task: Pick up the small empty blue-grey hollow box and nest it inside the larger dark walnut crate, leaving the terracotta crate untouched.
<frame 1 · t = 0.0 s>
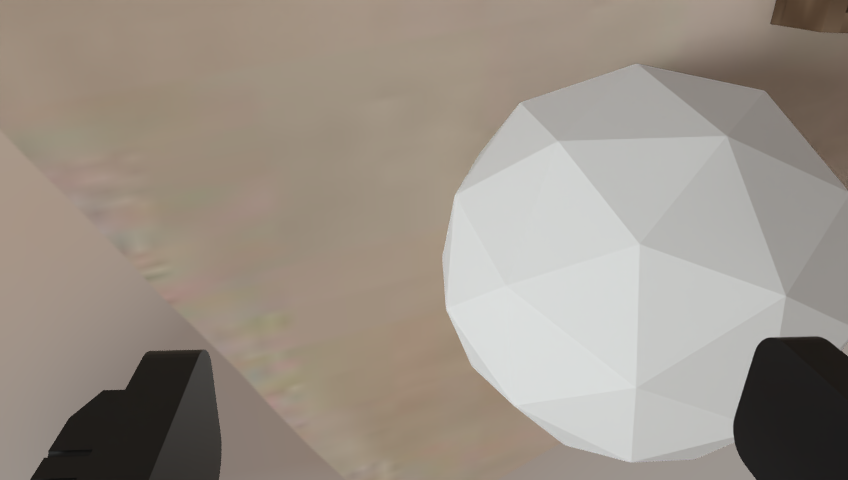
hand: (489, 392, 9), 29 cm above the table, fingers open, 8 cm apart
geometric orb: (572, 196, 40), on the table
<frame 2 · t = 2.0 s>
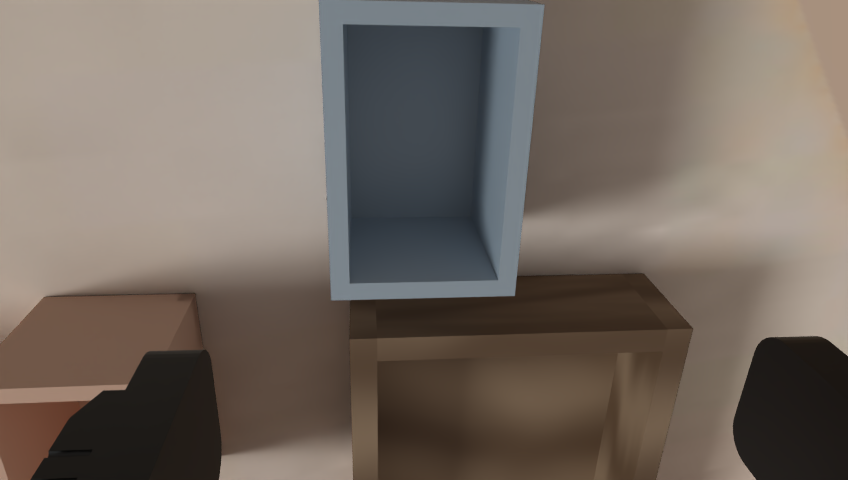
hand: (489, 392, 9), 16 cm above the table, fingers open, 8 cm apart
terracotta crate: (138, 383, 27), on the table
walnut crate: (487, 420, 30), on the table
blue-grey hollow box: (412, 117, 24), on the table
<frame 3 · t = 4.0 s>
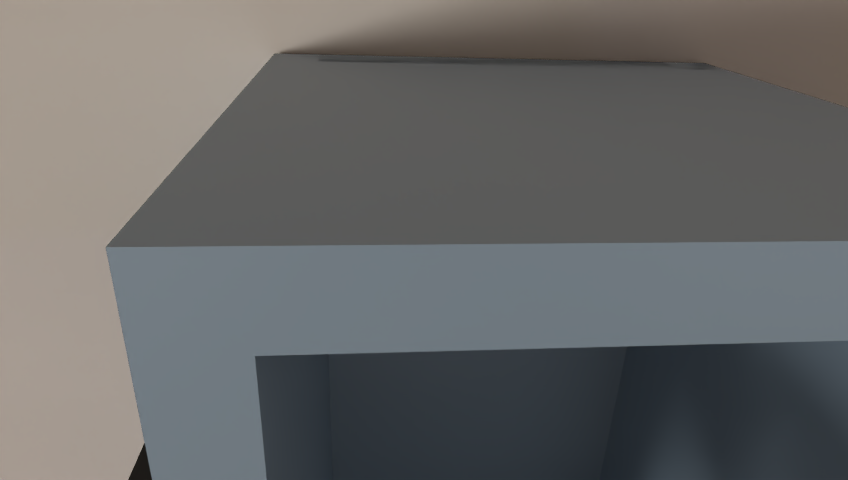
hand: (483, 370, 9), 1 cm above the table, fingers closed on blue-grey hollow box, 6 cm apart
blue-grey hollow box: (474, 334, 10), on the table, touching gripper
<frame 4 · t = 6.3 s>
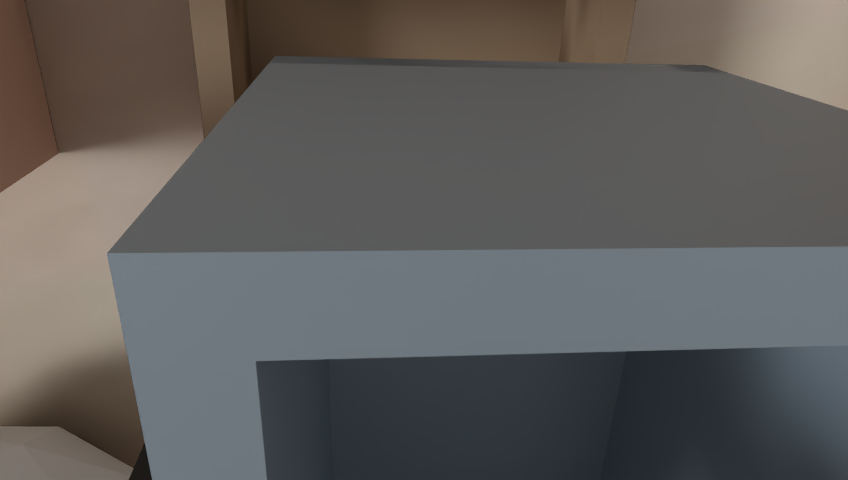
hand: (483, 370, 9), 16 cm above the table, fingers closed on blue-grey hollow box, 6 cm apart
walnut crate: (404, 118, 24), on the table
blue-grey hollow box: (474, 336, 10), point 15 cm above the table, touching gripper
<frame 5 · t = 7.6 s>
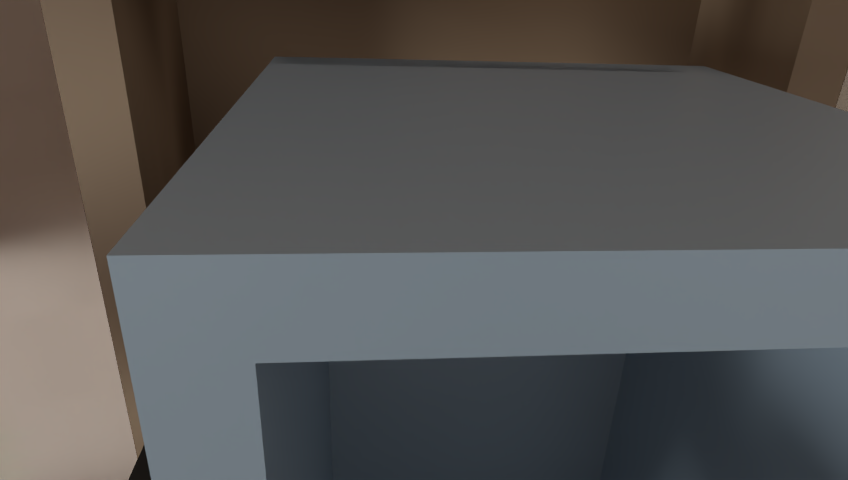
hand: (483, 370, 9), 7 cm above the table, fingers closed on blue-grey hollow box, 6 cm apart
walnut crate: (434, 199, 16), on the table
blue-grey hollow box: (474, 337, 10), point 6 cm above the table, touching gripper
when the fingers open (4 cm above the table, at t = 8.7 s): blue-grey hollow box drops 2 cm, resting on walnut crate.
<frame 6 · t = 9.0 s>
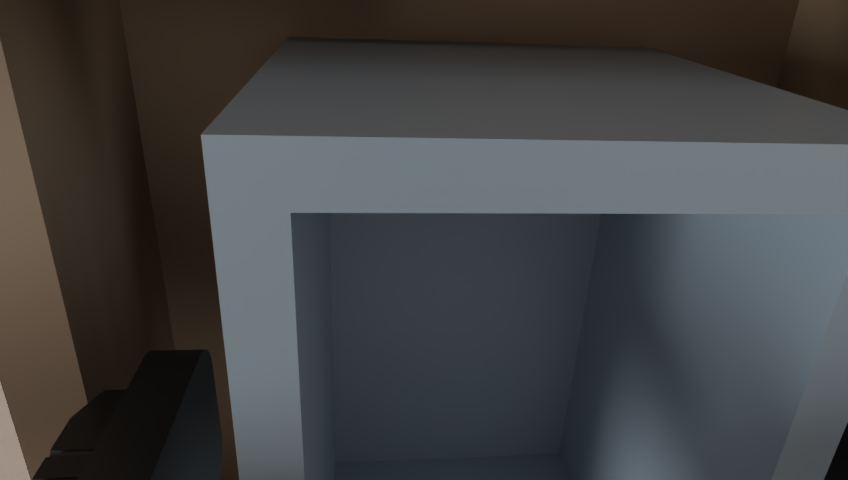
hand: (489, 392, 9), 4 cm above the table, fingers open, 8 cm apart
walnut crate: (450, 261, 13), on the table
blue-grey hollow box: (457, 283, 12), point 1 cm above the table, touching walnut crate
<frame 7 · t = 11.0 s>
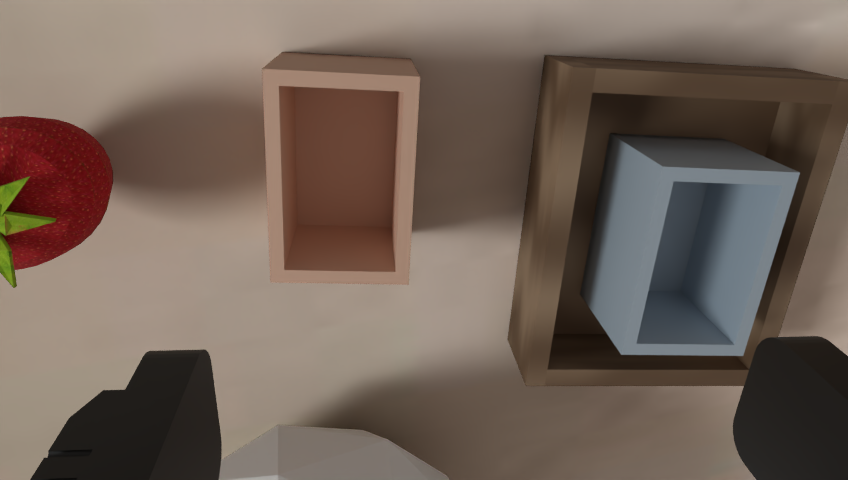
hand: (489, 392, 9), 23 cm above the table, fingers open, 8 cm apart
terracotta crate: (345, 148, 31), on the table
walnut crate: (641, 213, 33), on the table
blue-grey hollow box: (648, 219, 33), point 1 cm above the table, touching walnut crate
strawberry: (77, 157, 30), on the table
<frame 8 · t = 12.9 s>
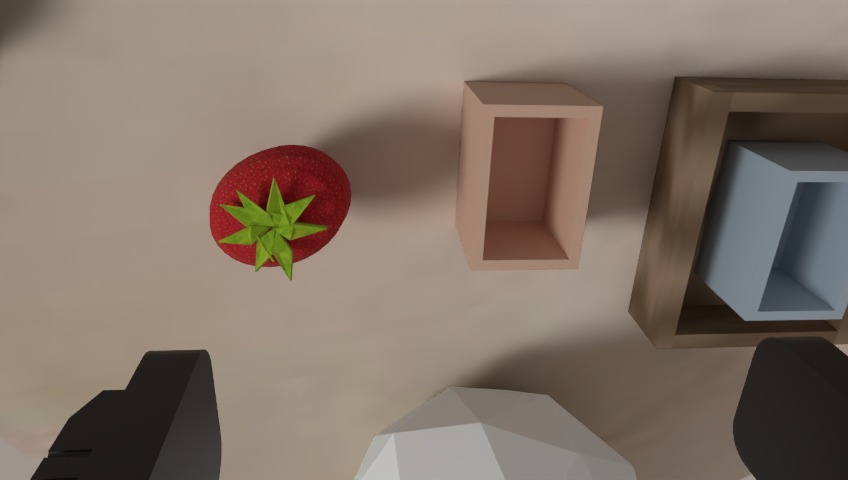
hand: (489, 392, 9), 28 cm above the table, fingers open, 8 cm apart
terracotta crate: (508, 158, 37), on the table
walnut crate: (745, 204, 40), on the table
blue-grey hollow box: (754, 209, 39), point 1 cm above the table, touching walnut crate
geometric orb: (468, 438, 46), on the table
strawberry: (291, 171, 37), on the table
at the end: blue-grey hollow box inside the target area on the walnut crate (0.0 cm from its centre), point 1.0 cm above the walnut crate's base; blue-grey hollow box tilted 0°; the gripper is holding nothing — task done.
